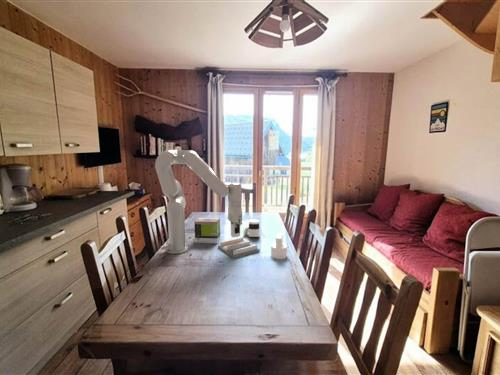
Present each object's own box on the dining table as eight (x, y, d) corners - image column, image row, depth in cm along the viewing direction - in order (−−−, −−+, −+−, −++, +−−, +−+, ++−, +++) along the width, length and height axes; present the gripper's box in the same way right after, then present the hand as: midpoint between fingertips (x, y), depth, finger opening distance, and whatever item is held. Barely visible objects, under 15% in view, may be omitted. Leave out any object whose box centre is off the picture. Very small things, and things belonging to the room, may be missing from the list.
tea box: (220, 238, 175) (220, 217, 173) (217, 244, 165) (217, 221, 163) (199, 237, 177) (198, 216, 174) (194, 243, 167) (193, 221, 165)
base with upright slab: (286, 259, 144) (286, 239, 142) (270, 258, 145) (270, 237, 143) (287, 253, 152) (287, 233, 150) (272, 251, 154) (272, 232, 152)
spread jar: (259, 239, 174) (259, 223, 172) (242, 239, 174) (242, 222, 172) (259, 233, 186) (259, 218, 184) (243, 233, 186) (243, 217, 184)
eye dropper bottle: (231, 234, 161) (231, 216, 159) (240, 235, 161) (240, 216, 159) (230, 237, 157) (230, 218, 155) (239, 237, 156) (239, 218, 154)
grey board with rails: (233, 258, 144) (233, 252, 143) (218, 247, 159) (218, 241, 159) (259, 251, 154) (259, 245, 153) (242, 241, 169) (242, 236, 169)
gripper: (223, 201, 160) (223, 229, 163) (237, 206, 146) (237, 237, 149) (233, 200, 164) (233, 227, 167) (248, 205, 151) (248, 235, 154)
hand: (235, 232), depth 158 cm, fingers closed on eye dropper bottle, 3 cm apart
